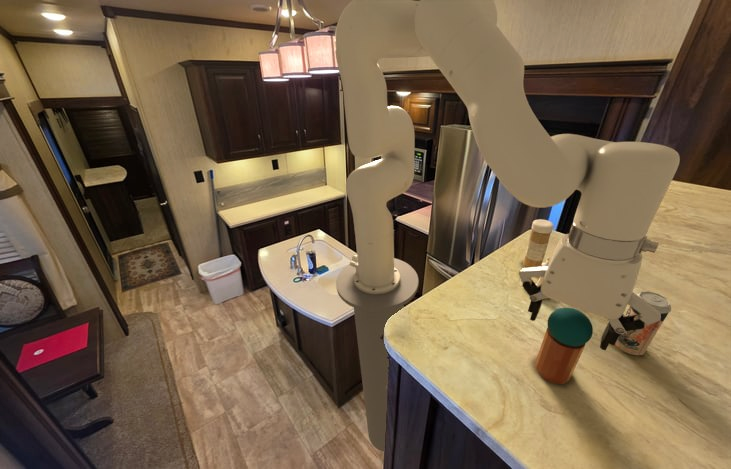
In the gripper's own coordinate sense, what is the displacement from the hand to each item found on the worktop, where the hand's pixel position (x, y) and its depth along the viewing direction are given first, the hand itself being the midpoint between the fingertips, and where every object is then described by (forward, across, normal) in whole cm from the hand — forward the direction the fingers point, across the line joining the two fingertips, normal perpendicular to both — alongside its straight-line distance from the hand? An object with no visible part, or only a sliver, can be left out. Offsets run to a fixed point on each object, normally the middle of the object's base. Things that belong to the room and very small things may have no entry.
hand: (566, 329), depth 47 cm
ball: (+2, 0, 0) cm, 2 cm away
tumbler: (+10, 0, 0) cm, 10 cm away
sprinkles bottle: (+11, +11, -31) cm, 35 cm away
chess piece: (+11, +7, -21) cm, 25 cm away
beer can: (+10, -10, -14) cm, 20 cm away
